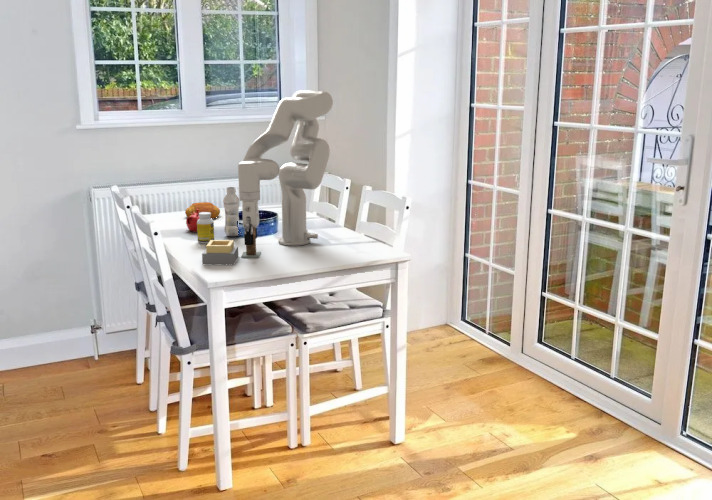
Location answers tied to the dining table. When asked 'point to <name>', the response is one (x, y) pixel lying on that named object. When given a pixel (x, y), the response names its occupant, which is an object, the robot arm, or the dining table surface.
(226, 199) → the plastic bottle
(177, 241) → the dining table surface
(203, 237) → the pill bottle
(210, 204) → the croissant
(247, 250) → the brown wooden tall bar
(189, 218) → the pomegranate
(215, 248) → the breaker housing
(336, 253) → the dining table surface
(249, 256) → the coaster
